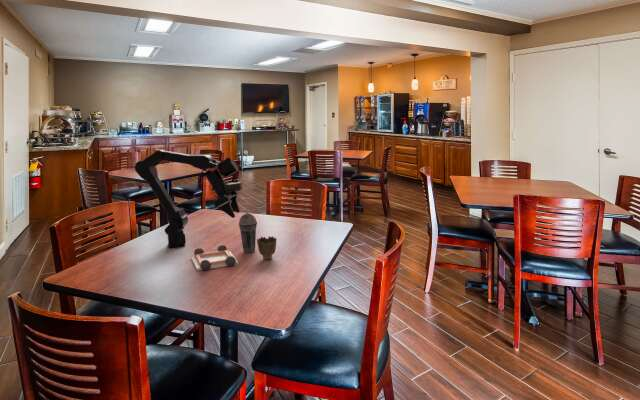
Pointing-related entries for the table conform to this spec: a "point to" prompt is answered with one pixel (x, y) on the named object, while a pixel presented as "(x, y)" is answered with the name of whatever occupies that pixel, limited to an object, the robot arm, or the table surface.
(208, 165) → the robot arm
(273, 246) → the cup
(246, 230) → the beverage cup
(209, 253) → the chassis
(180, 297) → the table surface
